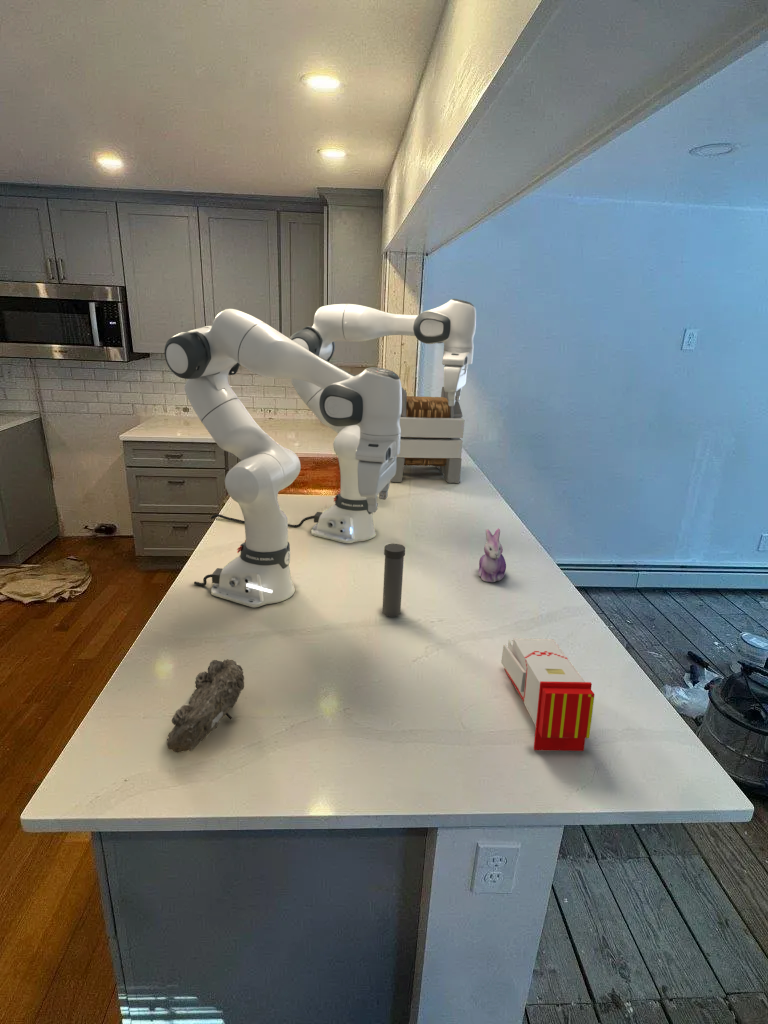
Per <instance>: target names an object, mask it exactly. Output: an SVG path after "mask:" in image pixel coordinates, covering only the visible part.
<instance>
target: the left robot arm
mask: <svg viewBox="0 0 768 1024" xmlns="http://www.w3.org/2000/svg"><path fill="white" fill-rule="evenodd" d="M289 338H290V337H288V336H286V335H285V334H283V333H282V332H280V331H279V330H277V329H276V328H274V327H272V326H271V325H269V324H267V323H266V322H264V321H262V320H261V319H259V318H257V317H256V316H253V315H251V314H249V313H246V312H244V311H241V310H239V309H236V308H225V309H224V310H222V311H220V312H219V313H218V314H217V315H216V316H215V317H214V319H213V320H212V324H211V325H204V326H200V327H198V328H194V329H191V330H188V331H181V332H179V333H176V334H174V335H173V336H171V337H170V338H168V339H167V341H166V343H165V345H164V350H163V352H164V359H165V362H166V364H167V366H168V369H169V370H170V371H171V373H172V374H173V375H175V376H176V377H178V378H180V379H184V380H186V381H185V384H184V392H185V394H186V396H187V399H188V401H189V403H190V405H191V407H192V409H193V410H194V413H195V414H196V416H197V417H198V419H199V420H200V422H201V423H202V424H203V426H204V427H205V429H206V430H207V433H209V435H210V436H211V438H212V439H213V441H214V442H215V444H216V445H217V446H218V447H219V448H220V449H221V450H223V451H224V452H227V453H230V454H232V455H233V456H235V457H236V458H238V459H239V460H240V461H238V462H237V463H236V464H235V465H234V466H233V467H232V468H230V469H229V471H227V473H226V475H225V478H224V485H225V490H226V493H227V494H228V495H229V497H230V498H231V499H232V500H233V501H234V502H236V503H237V504H238V505H239V508H240V510H241V513H242V516H243V521H244V522H245V524H244V534H245V536H244V537H245V539H244V542H242V543H241V544H240V546H239V547H238V548H237V549H236V553H237V554H239V553H240V554H239V555H238V556H236V557H235V558H233V559H232V560H231V561H229V562H228V563H227V564H225V565H224V566H223V567H220V568H219V567H218V568H216V569H215V570H214V571H213V572H212V573H210V574H207V575H205V576H204V577H203V581H202V582H198V581H194V582H193V585H196V586H199V587H205V586H206V585H207V583H208V581H207V580H208V579H210V578H211V584H213V585H212V586H211V587H210V588H211V589H210V594H211V596H213V597H216V598H220V599H223V600H227V601H229V602H233V603H237V604H239V605H244V606H247V607H250V608H259V607H262V606H265V605H272V604H277V603H280V602H283V601H287V600H288V599H289V598H290V599H291V597H292V596H293V595H294V594H295V592H296V589H295V584H294V583H293V579H292V574H291V567H290V563H291V547H290V546H291V545H290V542H289V526H288V524H289V518H288V515H287V513H285V512H284V510H282V509H281V507H280V504H279V500H278V499H279V498H278V497H279V496H278V495H279V493H280V491H283V490H284V489H286V488H288V487H289V486H291V485H292V484H293V482H294V481H296V479H297V478H298V476H299V475H300V472H301V469H302V467H301V460H300V458H299V456H298V455H297V454H296V453H295V451H294V450H292V449H290V448H287V447H285V446H283V445H282V444H280V443H278V442H277V441H276V440H275V439H274V438H273V437H271V436H270V435H269V434H268V433H267V432H266V431H265V430H264V429H263V428H262V427H261V426H260V425H259V424H258V423H257V422H256V421H255V419H254V418H253V416H252V415H251V414H250V412H249V410H248V409H247V407H246V406H245V405H244V404H243V402H242V401H241V400H240V397H239V396H238V395H237V394H236V392H235V391H234V390H233V388H232V387H231V384H230V383H229V376H235V375H236V374H237V373H238V371H239V369H240V367H241V366H242V367H243V368H244V369H246V370H247V371H249V372H251V373H253V374H255V375H257V376H260V377H263V378H266V379H268V380H269V379H271V380H291V379H298V380H304V381H308V382H311V383H313V384H315V385H317V386H319V387H320V388H322V389H324V390H323V391H322V393H321V396H320V401H319V406H320V411H321V414H322V416H323V417H324V419H325V420H326V421H327V422H328V423H329V424H331V425H333V426H339V427H345V426H350V425H358V426H359V427H360V440H359V445H358V448H357V450H356V453H355V458H356V460H359V462H358V490H359V494H360V496H361V497H366V499H367V503H368V511H369V512H372V513H373V514H375V513H376V512H377V511H378V507H379V506H378V504H379V503H378V500H377V499H379V500H387V498H388V497H389V488H390V484H391V479H392V478H393V477H394V476H395V474H396V462H397V455H399V454H400V440H401V428H400V423H399V422H400V416H401V413H402V388H403V387H402V381H401V378H400V376H399V375H398V374H397V373H396V372H394V371H393V370H391V369H388V368H384V367H377V366H375V367H374V366H371V367H367V368H365V369H364V370H363V371H362V372H360V373H358V374H354V373H351V372H349V371H347V370H345V369H343V368H342V367H340V366H339V365H336V364H334V363H333V362H331V361H330V360H329V361H327V360H325V359H324V358H322V357H320V356H318V355H316V354H314V353H312V352H310V351H308V350H307V349H305V348H304V347H302V346H300V345H299V344H297V343H295V342H294V341H292V340H291V339H289Z"/></svg>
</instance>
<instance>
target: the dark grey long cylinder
mask: <svg viewBox="0 0 768 1024" xmlns="http://www.w3.org/2000/svg"><path fill="white" fill-rule="evenodd" d="M404 559H405V556H404V557H402V558H397V559H394V558H389V557H386V556H385V555H384V570H383V588H382V609H381V610H382V611H381V612H382V614H383V615H384V616H386V617H390V618H394V617H398V616H400V615H401V610H402V594H403V593H402V592H403V591H402V589H403V577H404V561H405V560H404Z"/></svg>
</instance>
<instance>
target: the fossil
mask: <svg viewBox="0 0 768 1024" xmlns="http://www.w3.org/2000/svg"><path fill="white" fill-rule="evenodd" d="M243 670H244V669H243V667H242V665H240V664H237V662H236V661H235V660H234V659H232V658H231V659H227V658H226V659H224V660H223V661H222V660H217V659H212V660H211V661H210V663H209V665H208V666H207V671H201V672H199V673H198V674H197V675H196V676H195V680H194V684H195V685H194V687H195V689H194V690H193V693H192V694H191V697H190V698H189V700H188V704H184V705H182V706H181V707H180V709H177V710H176V711H175V713H174V715H173V716H172V718H171V723H172V724H173V727H172V730H171V731H170V732H168V734H167V738H166V741H167V742H166V745H167V749H168V750H169V751H173V752H174V753H176V754H178V753H182V752H188V751H189V752H192V751H193V750H195V748H196V747H197V746H199V744H200V743H201V742H203V741H204V740H205V739H206V738H207V737H208V736H209V735H210V734H211V733H212V732H214V730H215V729H217V727H218V726H219V724H220V722H221V721H222V720H223V719H224V718H225V716H226V717H227V719H229V720H233V717H232V715H230V714H229V710H230V709H231V708H234V706H235V704H236V703H237V702H238V699H239V697H240V695H241V693H242V691H243V690H245V689H244V688H245V675H244V671H243Z"/></svg>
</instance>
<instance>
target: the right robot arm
mask: <svg viewBox="0 0 768 1024" xmlns="http://www.w3.org/2000/svg"><path fill="white" fill-rule="evenodd" d="M476 327H477V309H476V306H475V305H474V304H473V303H472V302H470V301H467V300H463V299H458V298H451V299H450V300H448V301H447V302H445V303H444V304H441V305H439V306H437V307H435V308H431V309H427V310H424V311H422V312H421V313H419V314H399V313H391V312H386V311H383V310H380V309H377V308H374V307H370V306H366V305H361V304H355V303H335V304H327V305H322V306H320V307H318V308H317V309H316V311H315V313H314V317H313V325H312V326H310V325H306V326H305V327H303V328H301V329H299V330H298V331H295V333H293V334H292V335H291V336H290V337H288V338H289V339H291V340H292V341H294V342H295V343H297V344H299V345H300V346H302V347H304V348H305V349H307V350H308V351H310V352H312V353H314V354H316V355H318V356H320V357H322V358H324V359H325V360H327V361H329V362H330V360H331V359H332V357H333V356H334V352H335V350H336V343H335V342H353V343H356V342H366V341H371V340H376V339H378V338H384V337H388V336H409V337H415V338H416V339H417V340H418V341H420V343H423V344H426V345H434V344H435V345H436V344H443V354H442V362H441V363H442V365H443V387H444V390H445V392H448V400H449V401H448V405H449V406H454V405H455V402H460V400H461V393H462V390H463V388H464V387H465V386H466V383H467V373H468V368H469V365H473V360H474V359H473V358H474V347H475V345H474V337H475V334H476ZM290 380H291V381H290V383H291V384H292V386H293V388H294V390H295V391H296V393H297V395H298V396H299V397H300V399H301V400H302V401H303V403H304V404H305V405H306V407H307V408H308V409H309V410H310V411H311V412H312V413H313V415H314V416H315V417H316V418H317V419H318V420H319V422H320V423H321V424H323V425H324V426H326V427H328V428H330V429H331V430H332V431H334V432H335V433H336V436H335V438H334V439H333V443H332V446H333V448H332V449H333V451H334V454H335V455H336V457H337V462H338V466H339V473H340V488H339V489H340V490H339V491H338V492H337V494H336V495H335V496H334V497H333V502H334V504H333V505H331V506H329V507H328V508H326V509H325V510H323V512H322V511H316V512H315V514H314V515H310V516H307V517H304V518H303V519H302V520H300V522H299V523H298V524H290V523H288V528H289V527H290V528H293V529H294V528H300V527H302V526H303V524H304V523H305V522H307V521H308V520H312V519H313V523H315V524H314V525H313V526H312V528H311V530H310V533H311V536H315V537H319V538H323V539H326V540H330V541H336V542H339V543H343V544H352V543H357V542H365V541H368V540H372V539H373V538H375V537H376V535H377V532H376V528H375V523H374V513H372V512H369V511H368V503H367V499H366V497H361V496H360V494H359V490H358V462H359V460H356V458H355V453H356V450H357V448H358V445H359V440H360V427H359V426H358V425H350V426H345V427H339V426H333V425H331V424H329V423H328V422H327V421H326V420H325V419H324V417H323V416H322V414H321V411H320V406H319V401H320V396H321V393H322V391H323V390H324V389H322V388H320V387H319V386H317V385H315V384H313V383H311V382H308V381H304V380H298V379H290ZM215 518H221V519H224V520H227V521H232V522H236V523H240V524H244V525H245V522H244V519H238V518H235V517H234V518H233V517H230V516H226V515H223V514H220V513H215V514H213V515H211V516H210V520H211V519H212V520H213V519H215Z"/></svg>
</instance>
